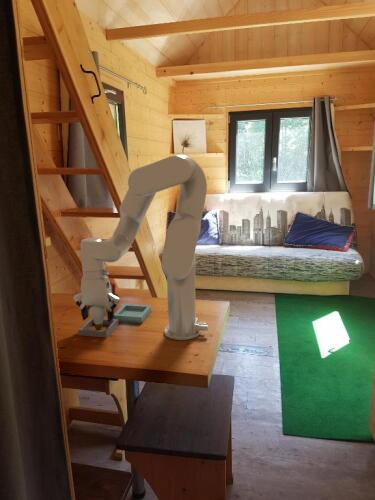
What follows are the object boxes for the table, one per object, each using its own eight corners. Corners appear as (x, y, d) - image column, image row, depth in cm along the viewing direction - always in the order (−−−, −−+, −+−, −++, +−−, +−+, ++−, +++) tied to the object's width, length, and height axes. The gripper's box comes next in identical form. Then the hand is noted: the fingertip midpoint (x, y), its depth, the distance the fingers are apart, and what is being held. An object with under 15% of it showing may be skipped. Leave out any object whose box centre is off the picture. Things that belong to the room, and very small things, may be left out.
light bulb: (91, 334, 131) (88, 307, 129) (90, 327, 137) (88, 301, 134) (108, 331, 133) (106, 305, 131) (106, 325, 138) (104, 299, 136)
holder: (118, 324, 139) (118, 319, 138) (106, 337, 129) (106, 332, 128) (92, 322, 141) (91, 317, 141) (78, 335, 131) (78, 329, 131)
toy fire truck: (104, 297, 166) (102, 275, 163) (122, 304, 158) (120, 280, 155) (91, 302, 161) (89, 279, 158) (108, 309, 153) (106, 285, 150)
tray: (151, 311, 150) (151, 305, 149) (142, 323, 139) (141, 317, 138) (124, 309, 152) (124, 304, 151) (113, 321, 141) (113, 315, 141)
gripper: (121, 271, 132) (124, 316, 136) (76, 269, 135) (81, 313, 139) (113, 278, 124) (116, 325, 129) (65, 275, 128) (70, 322, 132)
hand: (98, 319), depth 134 cm, fingers open, 9 cm apart
